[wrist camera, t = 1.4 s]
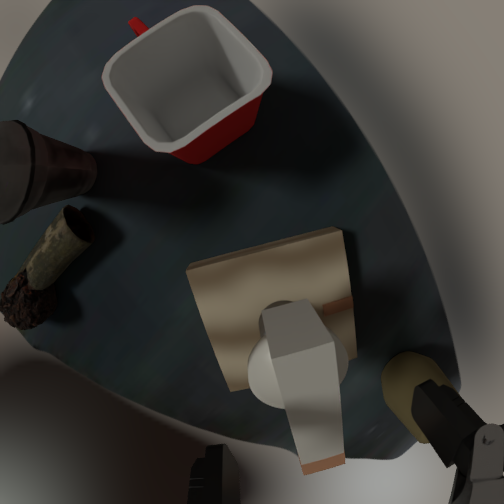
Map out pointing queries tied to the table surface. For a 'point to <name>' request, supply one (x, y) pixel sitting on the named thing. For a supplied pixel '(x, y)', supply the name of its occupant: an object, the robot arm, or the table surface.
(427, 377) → the squeeze bottle
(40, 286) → the morel mushroom
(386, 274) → the table surface
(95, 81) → the table surface
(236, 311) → the post block
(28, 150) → the beverage cup
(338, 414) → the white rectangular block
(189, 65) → the mug
